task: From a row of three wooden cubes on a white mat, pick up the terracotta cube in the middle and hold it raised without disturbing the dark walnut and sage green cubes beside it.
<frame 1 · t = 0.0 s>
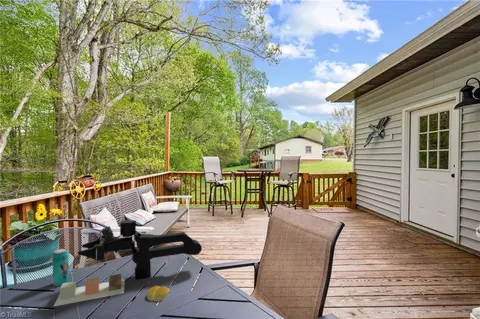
hand: (80, 249, 111), 17 cm above the table, tool horizontal, fingers open, 9 cm apart
beverage can: (60, 284, 114), on the table
white mat: (92, 292, 106), on the table
sage block: (68, 295, 103), point 1 cm above the table, touching white mat
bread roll: (158, 297, 103), on the table
terracotta block: (92, 291, 106), point 1 cm above the table, touching white mat
walnut block: (115, 287, 110), point 1 cm above the table, touching white mat
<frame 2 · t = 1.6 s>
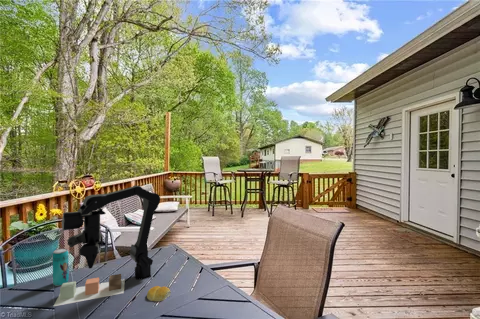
hand: (92, 263, 106), 12 cm above the table, tool pointing down, fingers open, 9 cm apart
nothing on the table moved.
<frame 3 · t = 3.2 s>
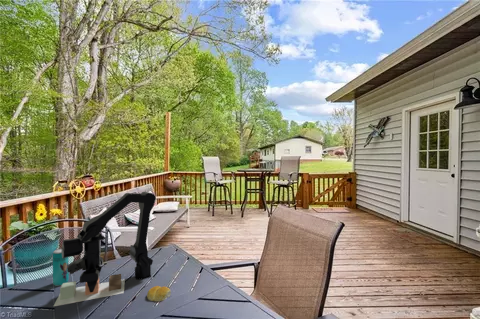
hand: (92, 289, 106), 2 cm above the table, tool pointing down, fingers closed on terracotta block, 4 cm apart
terracotta block: (92, 291, 106), point 1 cm above the table, touching white mat, gripper
everything else where it was.
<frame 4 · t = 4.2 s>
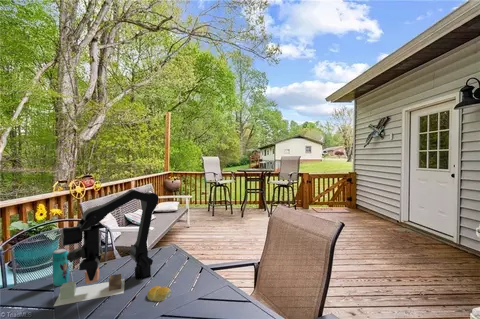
hand: (92, 278, 106), 6 cm above the table, tool pointing down, fingers closed on terracotta block, 4 cm apart
terracotta block: (92, 280, 106), point 5 cm above the table, touching gripper
everything else where it was.
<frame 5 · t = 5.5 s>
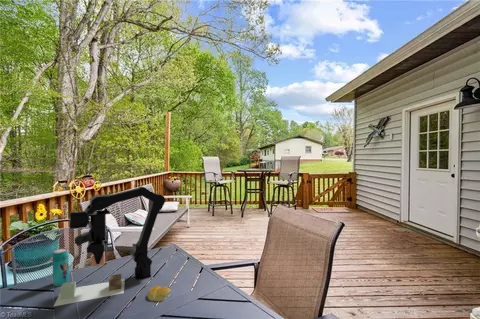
hand: (98, 261, 110), 11 cm above the table, tool pointing down, fingers closed on terracotta block, 4 cm apart
terracotta block: (98, 263, 110), point 11 cm above the table, touching gripper
everything else where it was.
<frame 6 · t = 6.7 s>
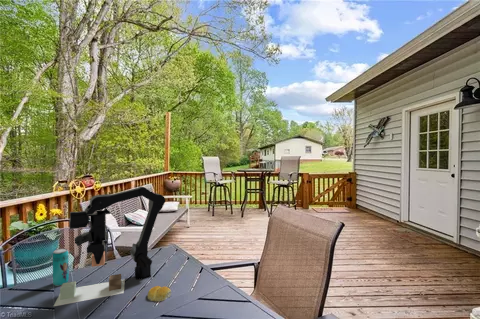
hand: (98, 261, 110), 11 cm above the table, tool pointing down, fingers closed on terracotta block, 4 cm apart
terracotta block: (98, 263, 110), point 11 cm above the table, touching gripper
everything else where it was.
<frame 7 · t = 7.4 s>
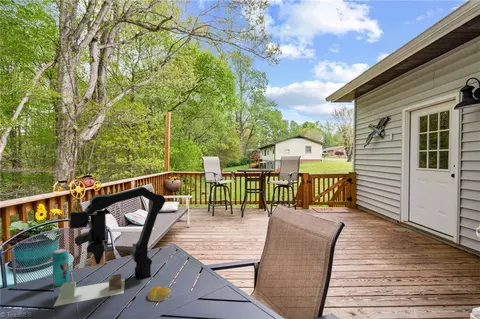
hand: (98, 261, 110), 11 cm above the table, tool pointing down, fingers closed on terracotta block, 4 cm apart
terracotta block: (98, 263, 110), point 11 cm above the table, touching gripper
everything else where it was.
at the end: terracotta block point 10.6 cm above the table; walnut block moved 0.0 cm from its start; sage block moved 0.0 cm from its start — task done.
